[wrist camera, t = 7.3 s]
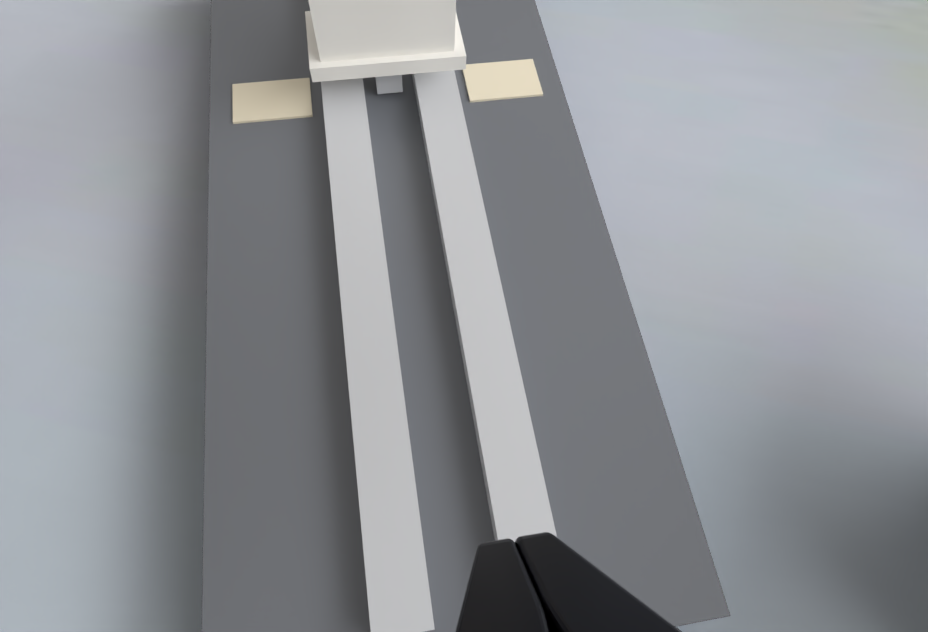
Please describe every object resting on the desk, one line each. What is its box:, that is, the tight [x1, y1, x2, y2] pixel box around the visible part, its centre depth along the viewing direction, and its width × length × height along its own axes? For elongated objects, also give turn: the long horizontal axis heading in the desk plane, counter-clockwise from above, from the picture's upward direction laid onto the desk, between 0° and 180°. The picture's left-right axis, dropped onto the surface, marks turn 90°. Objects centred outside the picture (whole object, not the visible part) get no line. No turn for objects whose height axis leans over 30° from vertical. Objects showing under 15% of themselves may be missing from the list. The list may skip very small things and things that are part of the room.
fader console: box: [202, 0, 730, 632], centre depth 24 cm, size 30×14×3 cm, turn 9°
